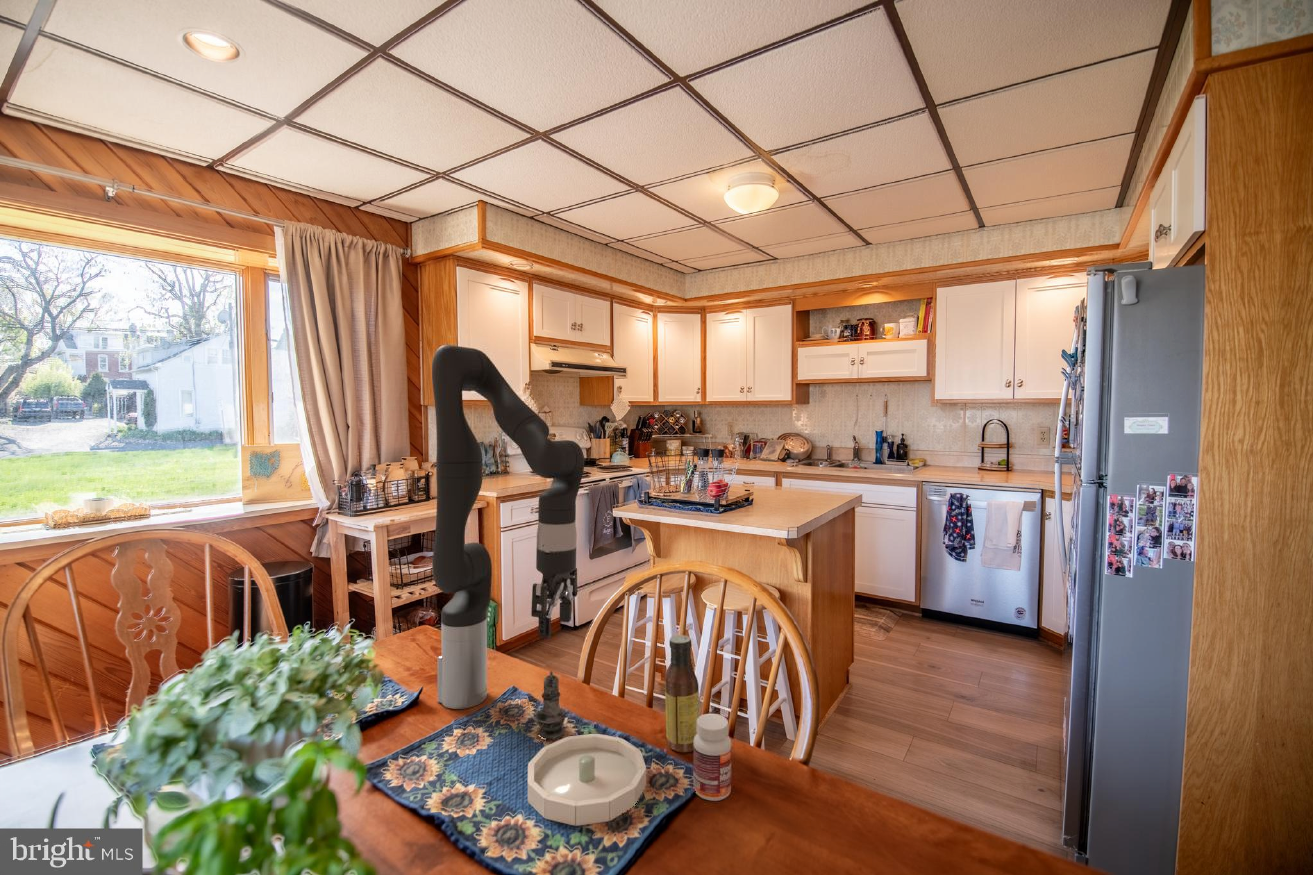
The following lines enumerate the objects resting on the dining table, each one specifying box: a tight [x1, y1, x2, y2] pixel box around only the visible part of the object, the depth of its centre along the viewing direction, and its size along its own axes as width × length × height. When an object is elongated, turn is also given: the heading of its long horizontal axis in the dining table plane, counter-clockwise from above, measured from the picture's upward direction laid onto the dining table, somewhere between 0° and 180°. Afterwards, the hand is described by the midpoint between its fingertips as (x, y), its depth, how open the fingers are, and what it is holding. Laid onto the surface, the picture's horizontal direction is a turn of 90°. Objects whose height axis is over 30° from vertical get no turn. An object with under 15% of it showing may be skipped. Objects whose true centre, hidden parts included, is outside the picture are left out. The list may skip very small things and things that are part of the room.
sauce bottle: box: [664, 634, 700, 753], centre depth 105 cm, size 7×6×20 cm
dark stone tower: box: [535, 670, 568, 741], centre depth 109 cm, size 6×6×12 cm
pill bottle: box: [692, 713, 732, 802], centre depth 93 cm, size 6×6×11 cm
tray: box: [527, 733, 647, 827], centre depth 94 cm, size 19×19×4 cm
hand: (555, 628), depth 109 cm, fingers open, 8 cm apart
